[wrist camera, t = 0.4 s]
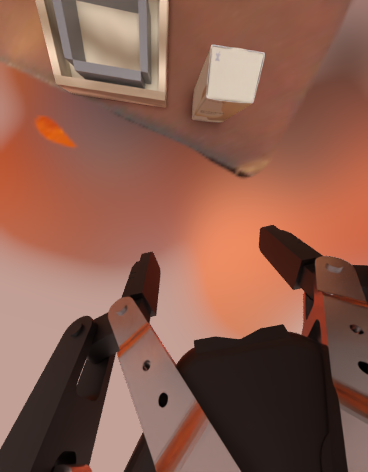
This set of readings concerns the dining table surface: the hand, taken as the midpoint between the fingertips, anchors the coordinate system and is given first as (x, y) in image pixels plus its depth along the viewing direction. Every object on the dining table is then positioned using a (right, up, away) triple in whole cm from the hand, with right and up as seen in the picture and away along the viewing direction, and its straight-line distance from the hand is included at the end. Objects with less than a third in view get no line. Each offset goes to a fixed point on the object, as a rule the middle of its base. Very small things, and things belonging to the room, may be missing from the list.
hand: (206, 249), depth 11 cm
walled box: (-12, +30, +12) cm, 35 cm away
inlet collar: (-12, +30, +12) cm, 35 cm away
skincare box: (+3, +25, +16) cm, 30 cm away
